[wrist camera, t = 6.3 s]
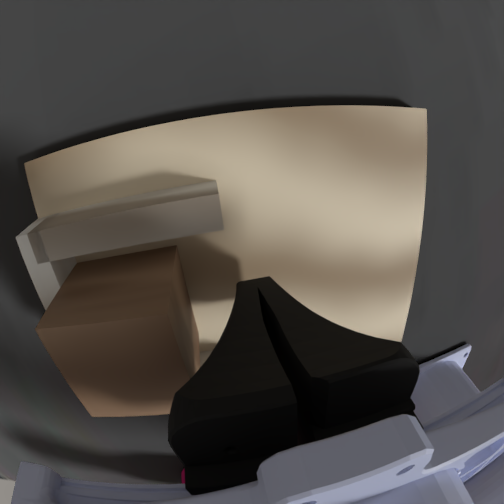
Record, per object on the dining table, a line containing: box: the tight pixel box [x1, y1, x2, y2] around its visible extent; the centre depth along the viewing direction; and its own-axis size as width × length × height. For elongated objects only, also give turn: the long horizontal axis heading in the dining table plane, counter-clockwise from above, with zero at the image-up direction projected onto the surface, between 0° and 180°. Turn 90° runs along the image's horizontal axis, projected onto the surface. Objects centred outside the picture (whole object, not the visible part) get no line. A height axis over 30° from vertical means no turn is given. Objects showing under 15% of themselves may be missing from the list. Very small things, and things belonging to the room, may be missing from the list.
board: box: [16, 105, 427, 367], centre depth 13 cm, size 14×17×3 cm
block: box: [35, 245, 200, 417], centre depth 11 cm, size 4×4×4 cm
